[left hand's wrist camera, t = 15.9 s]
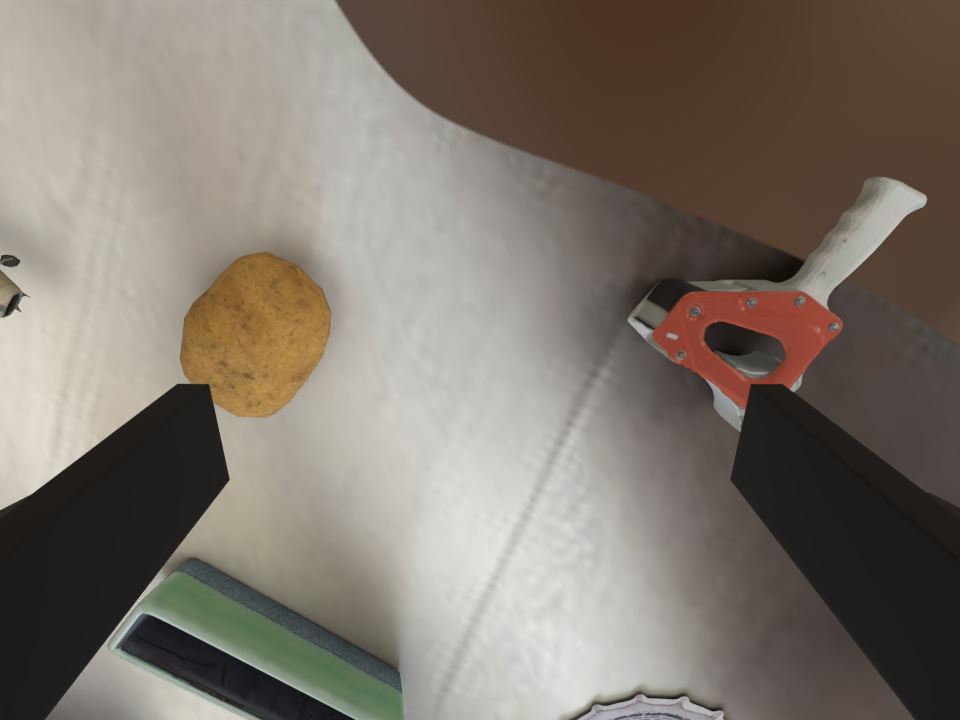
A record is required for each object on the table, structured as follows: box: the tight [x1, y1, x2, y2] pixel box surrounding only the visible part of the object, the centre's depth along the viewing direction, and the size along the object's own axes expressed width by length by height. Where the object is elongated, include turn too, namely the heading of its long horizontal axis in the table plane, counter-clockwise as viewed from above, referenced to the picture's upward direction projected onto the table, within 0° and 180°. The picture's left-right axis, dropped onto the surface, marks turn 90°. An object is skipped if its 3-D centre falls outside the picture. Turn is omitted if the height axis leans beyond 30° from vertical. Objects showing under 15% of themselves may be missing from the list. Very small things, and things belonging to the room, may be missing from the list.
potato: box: [180, 252, 331, 417], centre depth 37 cm, size 9×13×7 cm
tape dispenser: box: [627, 176, 927, 432], centre depth 38 cm, size 18×5×20 cm
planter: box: [107, 558, 405, 720], centre depth 50 cm, size 28×7×7 cm, turn 50°
